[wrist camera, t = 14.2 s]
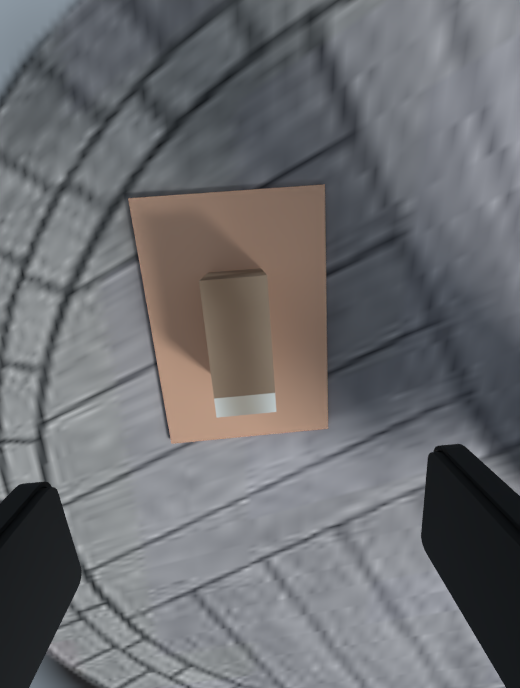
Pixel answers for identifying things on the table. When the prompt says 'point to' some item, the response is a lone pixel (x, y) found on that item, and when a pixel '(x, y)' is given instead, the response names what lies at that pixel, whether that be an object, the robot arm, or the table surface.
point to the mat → (227, 255)
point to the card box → (239, 341)
